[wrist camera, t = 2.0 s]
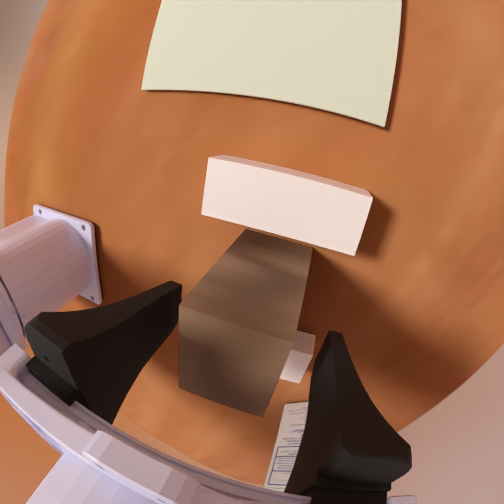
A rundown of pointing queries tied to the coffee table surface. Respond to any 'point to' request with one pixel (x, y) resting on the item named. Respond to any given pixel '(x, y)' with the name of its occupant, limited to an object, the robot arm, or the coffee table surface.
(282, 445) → the medicine box
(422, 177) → the coffee table surface
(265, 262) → the walnut block
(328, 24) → the mat
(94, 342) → the robot arm
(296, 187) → the slot blocks
